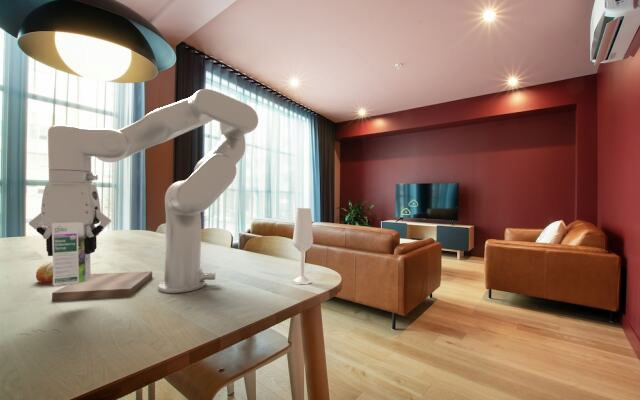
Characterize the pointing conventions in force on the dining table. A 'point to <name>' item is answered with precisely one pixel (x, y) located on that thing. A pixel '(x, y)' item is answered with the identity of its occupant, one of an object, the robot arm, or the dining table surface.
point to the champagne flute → (303, 236)
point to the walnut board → (104, 286)
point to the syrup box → (69, 253)
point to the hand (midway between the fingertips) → (72, 253)
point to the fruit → (45, 273)
